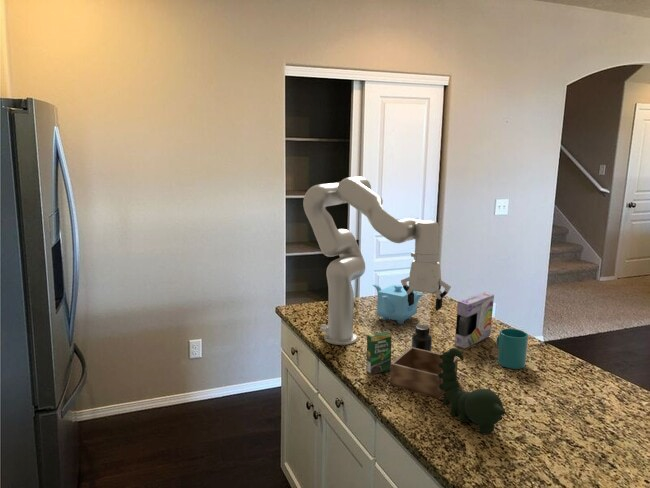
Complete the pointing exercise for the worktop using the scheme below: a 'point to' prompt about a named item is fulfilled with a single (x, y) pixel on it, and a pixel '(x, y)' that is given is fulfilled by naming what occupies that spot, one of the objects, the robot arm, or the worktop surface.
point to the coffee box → (378, 352)
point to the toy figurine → (468, 397)
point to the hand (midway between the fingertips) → (424, 307)
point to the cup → (512, 348)
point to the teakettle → (395, 303)
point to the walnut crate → (418, 372)
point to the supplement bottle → (422, 338)
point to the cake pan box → (473, 319)
